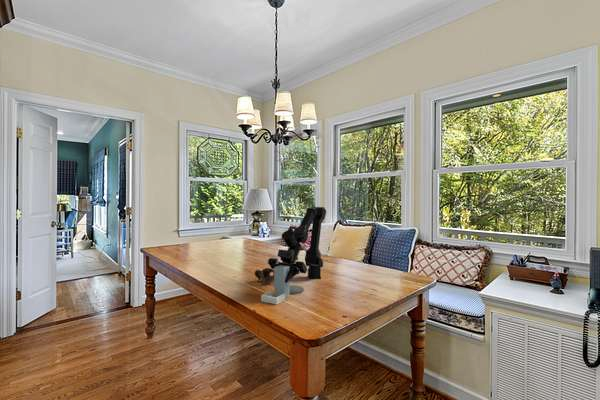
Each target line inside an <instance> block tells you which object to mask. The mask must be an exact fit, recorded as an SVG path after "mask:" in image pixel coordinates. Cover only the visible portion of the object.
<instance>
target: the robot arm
mask: <svg viewBox="0 0 600 400" xmlns="http://www.w3.org/2000/svg"><path fill="white" fill-rule="evenodd" d="M305 211H306V212H305V214H304V216H303V218H302V220H301V222H300V224H299V226H298V227H296V228H295V229H294V230H293V229H292V228H288V229H287V230H285V231H284V232H282V234H281V239H282V240H283V242H284V244H285V246H286V247H288V248H287V249H278V252H277V257H278V258H280V261H279V260H278V258H275V257H274V258H273V257H270V258H268V260H267V264H268V266H269V267H270V269H273V270H274V267H276V266H279V265H284V266H290V268H289V272H288V275H287V277H286V279H285V283H287V282H288V281H289V280H290V281H291V280H292V279H293V278H294V277H295V276H297V275H299V274H307V277H308V279H309V280H310V279H311V280H313V279H314V280H315V279H321V278H322V277H321V276H322V275H321V269H322V268H323V267H324V260H323V258H322V252H321V251H320V248H319V246H320V240H321V239H320V238H321V230H322V223H323V222H324V221H325V219H326V216H327V209H326V208H325V207H324V206H313V207H308V208H306V210H305ZM311 224H312V227H311ZM310 228H311V235H310V244H309V247H308V249H307V250H305V256H304V261H301V260H300V261H298V260H299V254H300V252H302V251H303V247H302V245H301V244H305V243H307V241H308V239H309V232H308V231H309V229H310Z"/></svg>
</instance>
